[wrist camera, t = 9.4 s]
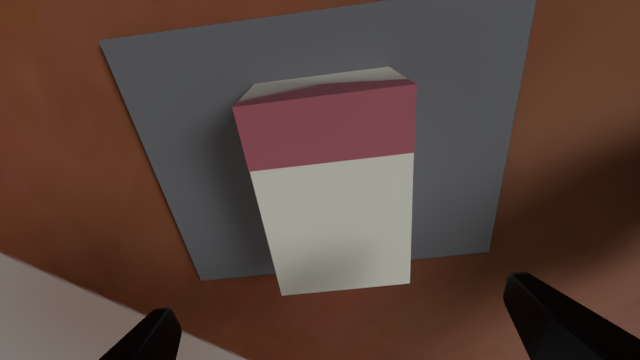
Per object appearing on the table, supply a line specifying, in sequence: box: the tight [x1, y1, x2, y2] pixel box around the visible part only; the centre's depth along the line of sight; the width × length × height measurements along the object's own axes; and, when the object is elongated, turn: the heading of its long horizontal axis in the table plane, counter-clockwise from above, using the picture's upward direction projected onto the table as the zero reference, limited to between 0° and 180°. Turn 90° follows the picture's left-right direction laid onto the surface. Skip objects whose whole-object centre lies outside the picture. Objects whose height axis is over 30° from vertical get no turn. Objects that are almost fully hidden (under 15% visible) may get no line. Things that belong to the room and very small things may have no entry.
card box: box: [232, 66, 417, 296], centre depth 14 cm, size 9×6×4 cm, turn 7°
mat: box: [99, 0, 536, 281], centre depth 16 cm, size 18×14×1 cm
